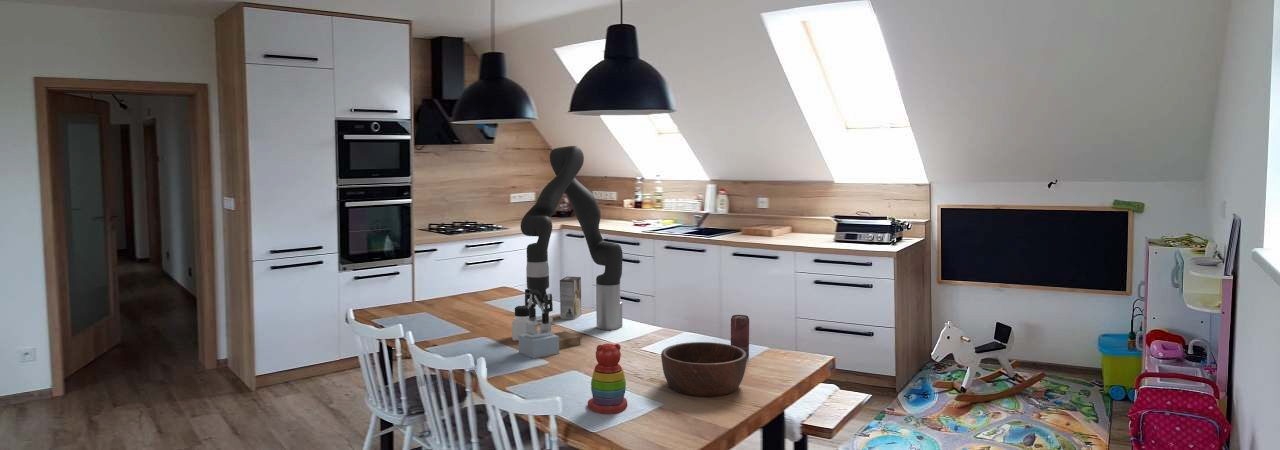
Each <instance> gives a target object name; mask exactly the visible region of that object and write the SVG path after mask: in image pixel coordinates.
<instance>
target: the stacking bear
mask: <svg viewBox="0 0 1280 450" xmlns="http://www.w3.org/2000/svg"><path fill="white" fill-rule="evenodd" d="M621 356H622V354H621V345H620V344H619V343H615V344H614V343H603V344H597V346H596V350H595V359H596V362H597V364H596V365H595V366H594V369H593V372H592V377H591V381H590V389H591V395H592V397H591V398H590V399H589V400H588V401H587V408H589V410H591V411H592V410H593V411H592V412H594V411H595V413H598V414H602V413H603V414H602V415H612V414H618V413H621V412H623V411H624V410H626V409H627V407H628V400H627V398H626V397H625V393H626V389H627V387H626V385H627V383H626V382H627V381H626V378H625V377H626V376H625V372H624V370H623V367H622V365H621V364H619V363H620V360H621V358H622V357H621Z"/></svg>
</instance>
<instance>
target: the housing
mask: <svg viewBox="0 0 1280 450" xmlns="http://www.w3.org/2000/svg"><path fill="white" fill-rule="evenodd" d="M524 321H525V323H526V332H525V336H526V337H529V338H531V339H535V338H540V337H546V336H551V335H553V331H552V322H553V317H550V316H549V323H548V324H543V323H542V315H540V316H536V317H532V318H526V319H524ZM539 324H540V329H537V328H538V325H539Z"/></svg>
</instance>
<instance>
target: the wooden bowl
mask: <svg viewBox="0 0 1280 450" xmlns="http://www.w3.org/2000/svg"><path fill="white" fill-rule="evenodd" d="M660 357H661V365H662V372H663V375H664V378H665V381H666V382H667V384H668V385H669V387H670V388H671V389H673V391H676V392H678V393H680V394H684V395H688V396H694V397H717V396H719V397H720V396H724V395H728V394H730V393H733V392H735V391H736V390H737V389H738V388H739V386H741V383H742V381H743V378H744V375H745V372H746V369H747V368H746V367H747V360H748V359H747V354H746V352H745V351H744V350H742V349H740V348H738V347H735V346H732V345H731V344H726V343H720V342H712V341H711V342H709V341H707V342H706V341H695V342H693V341H692V342H683V343H676V344H673V345H672V344H671V345H670V346H667V347H665V348H664V349H662V351H661V354H660Z"/></svg>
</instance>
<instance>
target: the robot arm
mask: <svg viewBox="0 0 1280 450" xmlns="http://www.w3.org/2000/svg"><path fill="white" fill-rule="evenodd" d="M584 157H585V156H584V153H583V150H582V149H581V148H580V147H579V146H578V145H568V146H561V147H555V148H553V149H552V150H551V151H550V153H549V162H550V166H551V168H552V171H553V172H554V174H555V175H556V176H555V177H554V178H553V179H552V180H550V181H549V182H548V183H547V184H546V185H545V186H544V187H543V188H542V190H541V191H540V194H539V196H538V198H537V199H536V202H535V203H534V205H532V207H531V208H530V209H529V210H528V211H527V212H526V213H525V214H524V216H523V217H522V219H521V222H520V231H521V233H522V234H523V235H525V236H526V237H537V241H536V242H534V243H533V242H532V243H529V244H528V245H527V246H526V271H525V272H526V273H525V275H526V288H525V289H524V305H525V306H528V309H529V318H532V317H537V313H536V311H537V308H536V306H537V307H538V308H539V309H540V311H541V316H542V323H543V324H548V323H549V317H550V315H549V314H550V312H553V309H554V308H553V306H554V305H553V295H552V293H547V289H549V288H550V268H549V259H548V258H549V256H548V254H549V253H548V248H549V244H550V240H551V235H552V231H553V222H552V219H551V218H550V217H552V216H553V215H554V214H555V211H556V209H557V207H558V205H559V203H560V201H561V199H562V197H563V195H564V193H565V194H566V196H567V199H568V200H569V203H570V205H571V208H572V210H573V213H574V215H575V217H576V219H577V222H578V224H579V225H580V228H581V231H582V233H583V236H584V237H585V241H586V245H587V247H588V250H589V251H588V252H589V253H590V257H591V259H592V261H593V262H594V263H595V264H596V265H599V266H603V267H604V272H603V273H602V274H599V275H597V276H596V278H595V288H596V289H595V290H596V291H595V295H596V304H595V306H596V307H595V308H596V309H595V310H596V313H595V314H596V329H598V330H604V331H605V330H606V331H608V330H609V331H612V330H617V329H620V328H622V327H623V302H621V278H622V275H623V259H624V257H623V249H622V246H621V245H620V244H619V243H617V242H612V241H611V242H610V241H605V240H604V238H603V236H602V234H601V231H600V223H601V209H600V206H599V204H598V202H597V198H596V197H595V195H594V194H593V193H592V192H591V191H590V190H589V189H588V188H587V187H585V186H584V185H583V184H582V183H581V182H580V181H579V180H578V179H576V176H577V175H578V174H579V172H580V171H581V169H582V167H583V165H584V163H585V161H584V160H585V158H584Z"/></svg>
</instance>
